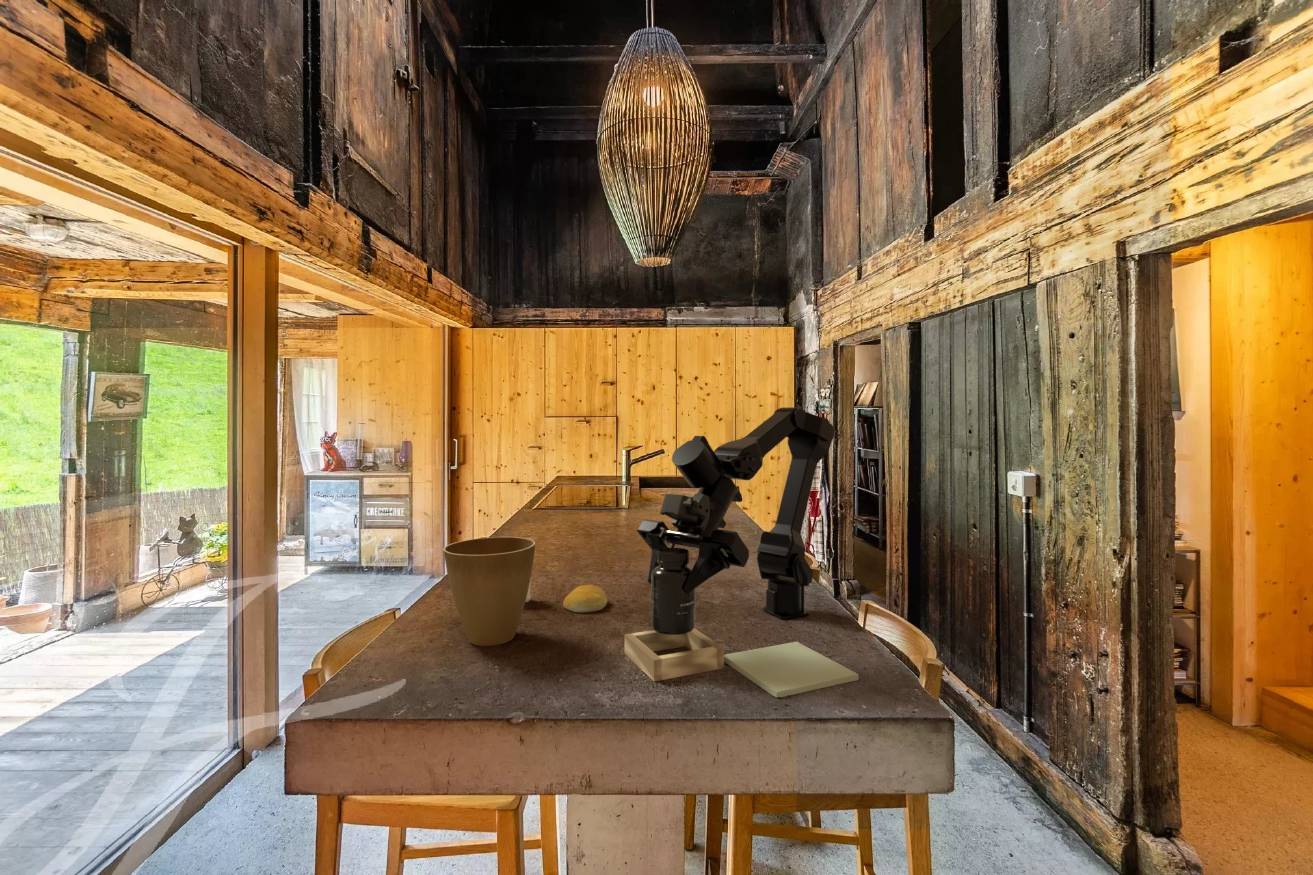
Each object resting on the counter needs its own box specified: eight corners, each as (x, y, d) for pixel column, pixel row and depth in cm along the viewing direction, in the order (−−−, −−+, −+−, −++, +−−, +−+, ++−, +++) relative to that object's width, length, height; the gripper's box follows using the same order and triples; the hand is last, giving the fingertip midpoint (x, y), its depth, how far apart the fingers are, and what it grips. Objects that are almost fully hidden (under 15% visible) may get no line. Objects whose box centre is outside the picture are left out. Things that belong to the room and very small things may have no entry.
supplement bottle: (692, 637, 87) (691, 556, 87) (646, 634, 89) (646, 554, 88) (698, 622, 94) (698, 546, 94) (655, 619, 95) (655, 544, 95)
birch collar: (688, 642, 99) (688, 624, 99) (724, 668, 88) (724, 647, 88) (624, 653, 94) (624, 634, 94) (653, 681, 84) (653, 660, 84)
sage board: (796, 646, 97) (796, 641, 97) (858, 679, 84) (858, 674, 84) (722, 660, 91) (722, 654, 91) (776, 698, 79) (776, 692, 79)
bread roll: (558, 613, 115) (558, 592, 115) (573, 599, 124) (573, 580, 124) (600, 615, 114) (599, 594, 114) (612, 601, 122) (611, 582, 122)
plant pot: (496, 618, 111) (496, 533, 111) (553, 635, 102) (553, 542, 102) (425, 642, 99) (424, 546, 99) (483, 663, 90) (482, 557, 90)
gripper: (644, 471, 100) (596, 547, 92) (738, 477, 88) (693, 566, 80) (674, 512, 106) (632, 587, 98) (766, 523, 94) (727, 610, 86)
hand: (667, 587), depth 90 cm, fingers closed on supplement bottle, 7 cm apart
